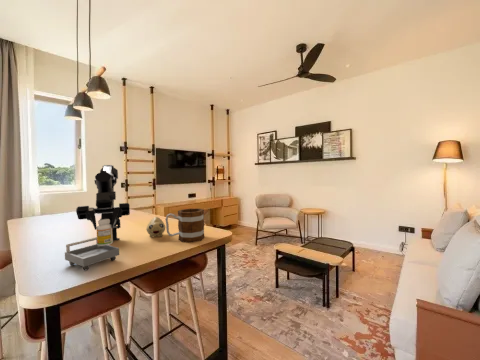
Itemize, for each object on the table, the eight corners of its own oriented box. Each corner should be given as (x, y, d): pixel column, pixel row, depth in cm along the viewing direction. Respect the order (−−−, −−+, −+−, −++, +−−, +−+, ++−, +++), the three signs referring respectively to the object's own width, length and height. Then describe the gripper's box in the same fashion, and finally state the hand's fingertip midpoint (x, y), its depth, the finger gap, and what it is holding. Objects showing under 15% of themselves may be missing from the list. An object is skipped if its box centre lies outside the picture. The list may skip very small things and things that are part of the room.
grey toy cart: (65, 264, 87) (64, 244, 87) (100, 254, 98) (99, 236, 98) (83, 272, 80) (82, 250, 80) (119, 260, 91) (118, 240, 91)
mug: (203, 234, 128) (203, 207, 127) (205, 241, 115) (205, 211, 114) (167, 237, 123) (166, 209, 123) (164, 244, 110) (164, 214, 110)
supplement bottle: (102, 242, 94) (100, 218, 93) (115, 241, 94) (114, 218, 94) (94, 246, 88) (93, 221, 88) (108, 245, 89) (107, 221, 88)
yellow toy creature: (146, 240, 117) (145, 220, 117) (146, 235, 128) (146, 216, 128) (166, 238, 121) (165, 218, 120) (165, 233, 132) (164, 214, 132)
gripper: (76, 186, 90) (71, 219, 80) (128, 184, 98) (130, 213, 89) (80, 203, 97) (76, 235, 88) (129, 200, 105) (130, 229, 96)
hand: (104, 228), depth 90 cm, fingers closed on supplement bottle, 5 cm apart
